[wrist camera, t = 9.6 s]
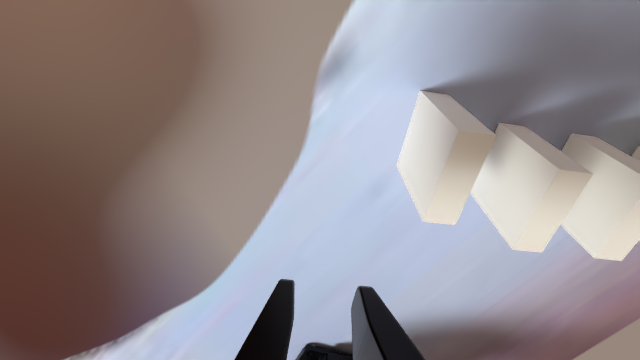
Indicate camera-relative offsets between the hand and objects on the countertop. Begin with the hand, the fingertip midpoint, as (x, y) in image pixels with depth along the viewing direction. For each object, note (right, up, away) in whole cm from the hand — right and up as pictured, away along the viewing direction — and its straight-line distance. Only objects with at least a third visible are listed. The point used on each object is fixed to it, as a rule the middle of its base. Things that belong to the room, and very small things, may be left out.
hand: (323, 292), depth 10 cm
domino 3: (+15, +4, +11) cm, 19 cm away
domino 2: (+10, +4, +11) cm, 16 cm away
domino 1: (+6, +6, +10) cm, 13 cm away
